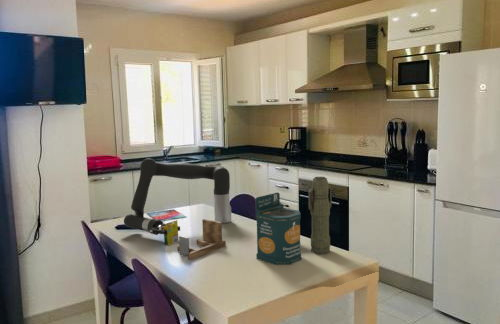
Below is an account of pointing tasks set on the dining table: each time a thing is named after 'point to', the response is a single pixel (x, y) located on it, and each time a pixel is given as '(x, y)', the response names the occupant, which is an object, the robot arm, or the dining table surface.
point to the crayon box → (171, 233)
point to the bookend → (184, 245)
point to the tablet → (166, 215)
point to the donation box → (277, 231)
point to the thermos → (320, 214)
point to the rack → (208, 239)
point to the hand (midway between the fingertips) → (173, 230)
